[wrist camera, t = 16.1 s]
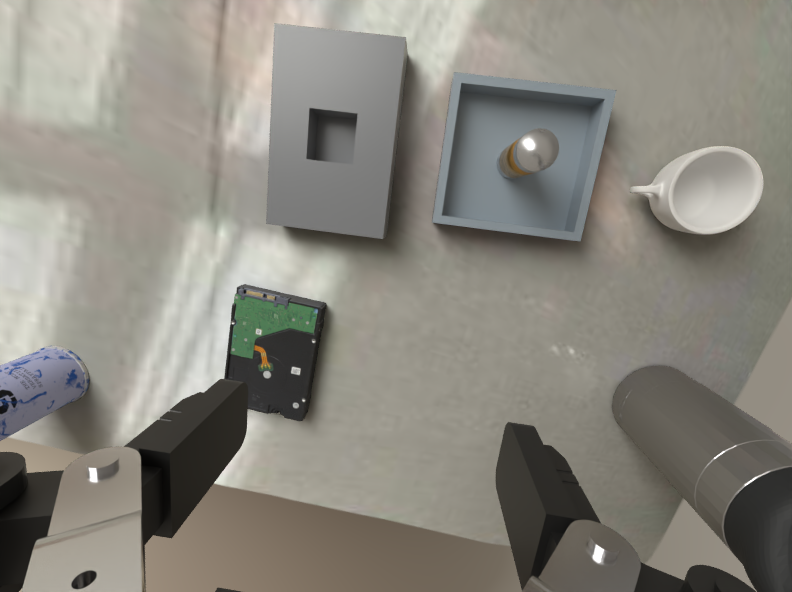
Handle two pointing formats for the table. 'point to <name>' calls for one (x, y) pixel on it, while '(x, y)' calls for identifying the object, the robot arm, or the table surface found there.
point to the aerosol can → (39, 386)
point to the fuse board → (334, 129)
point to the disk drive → (274, 349)
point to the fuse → (528, 154)
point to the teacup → (705, 190)
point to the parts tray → (497, 129)
